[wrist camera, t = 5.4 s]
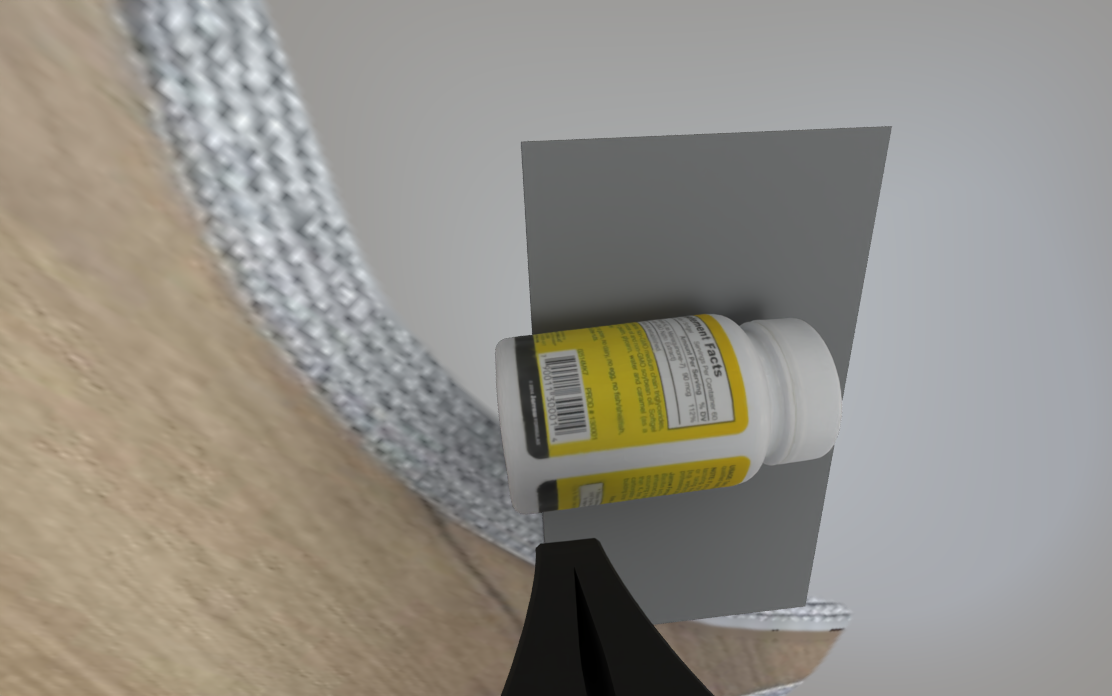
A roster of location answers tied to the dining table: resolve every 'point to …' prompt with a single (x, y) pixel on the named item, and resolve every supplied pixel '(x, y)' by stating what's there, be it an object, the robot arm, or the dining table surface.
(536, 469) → the supplement bottle
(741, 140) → the mat
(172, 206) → the dining table surface
